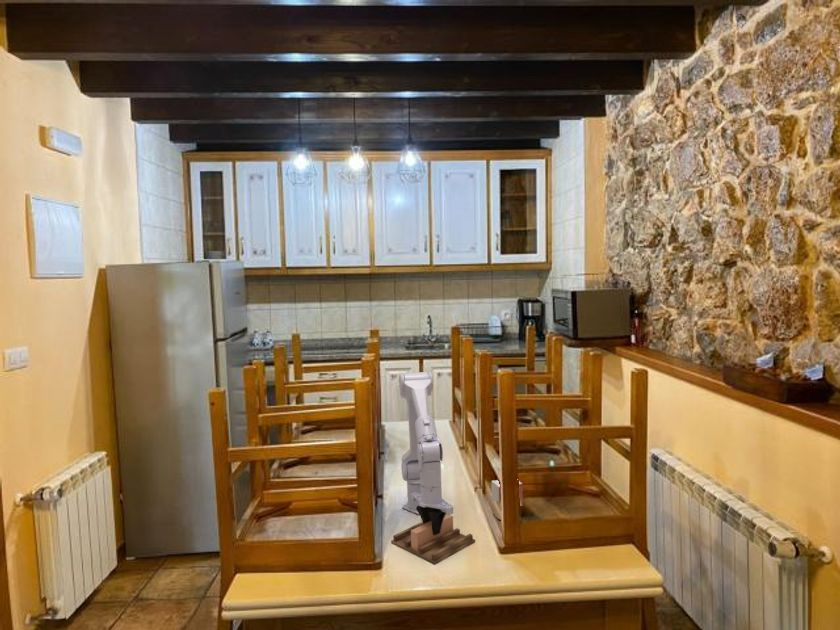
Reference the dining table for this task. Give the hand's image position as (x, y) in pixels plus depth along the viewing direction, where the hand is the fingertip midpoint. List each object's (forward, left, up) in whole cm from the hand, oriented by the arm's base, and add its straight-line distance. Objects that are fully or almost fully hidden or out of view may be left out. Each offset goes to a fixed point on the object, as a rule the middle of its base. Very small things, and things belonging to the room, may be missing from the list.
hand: (432, 531), depth 156 cm
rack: (0, 0, -3) cm, 3 cm away
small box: (-27, +5, -3) cm, 28 cm away
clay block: (0, 0, -2) cm, 2 cm away
